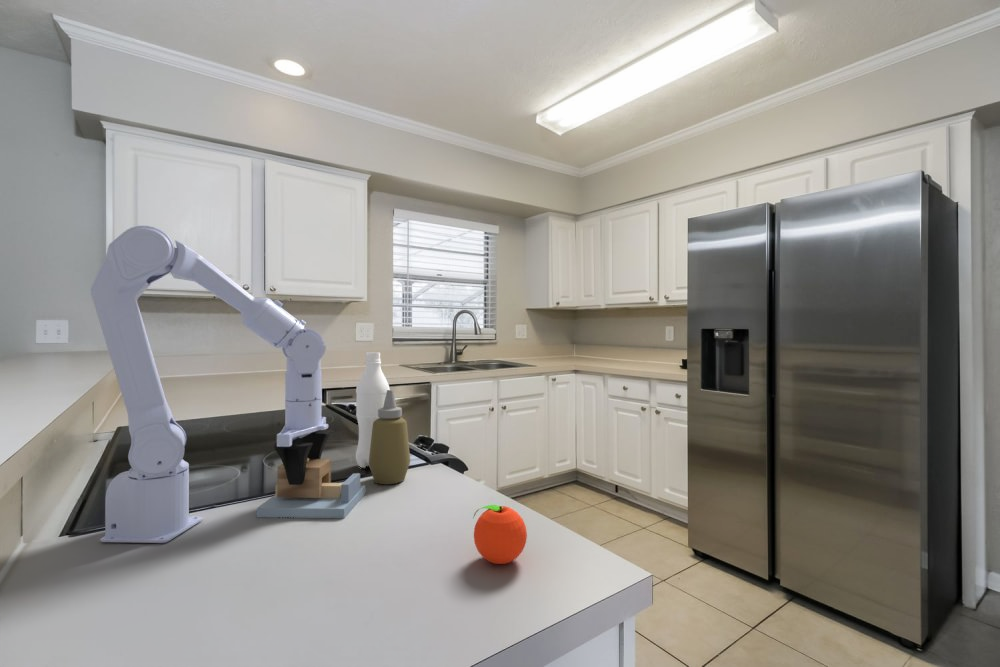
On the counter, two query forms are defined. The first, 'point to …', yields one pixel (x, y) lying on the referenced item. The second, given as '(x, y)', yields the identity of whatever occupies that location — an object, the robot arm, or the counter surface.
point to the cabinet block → (305, 480)
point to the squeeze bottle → (389, 444)
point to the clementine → (500, 534)
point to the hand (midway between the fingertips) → (303, 478)
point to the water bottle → (369, 404)
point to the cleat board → (317, 502)
